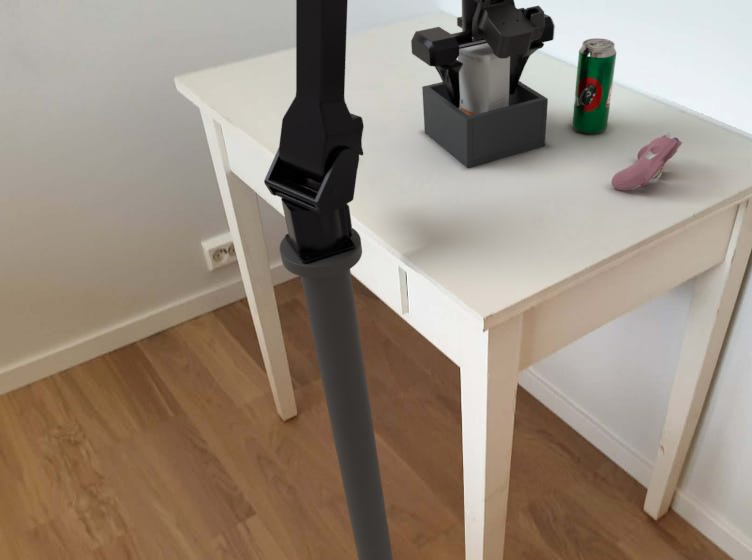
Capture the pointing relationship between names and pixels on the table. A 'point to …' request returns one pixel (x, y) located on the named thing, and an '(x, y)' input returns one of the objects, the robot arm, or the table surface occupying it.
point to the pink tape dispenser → (647, 163)
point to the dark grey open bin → (485, 125)
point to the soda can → (594, 85)
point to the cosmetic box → (483, 80)
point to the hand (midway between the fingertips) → (483, 100)
